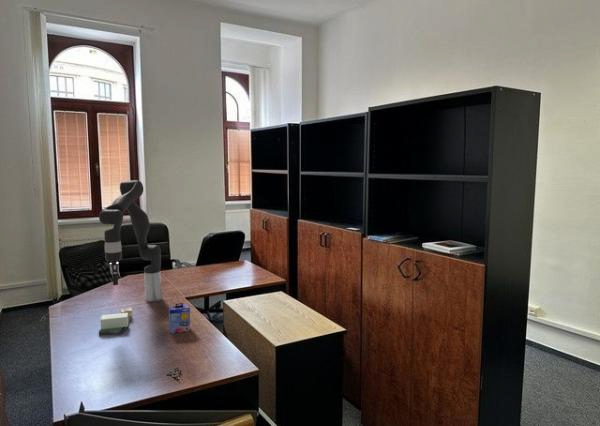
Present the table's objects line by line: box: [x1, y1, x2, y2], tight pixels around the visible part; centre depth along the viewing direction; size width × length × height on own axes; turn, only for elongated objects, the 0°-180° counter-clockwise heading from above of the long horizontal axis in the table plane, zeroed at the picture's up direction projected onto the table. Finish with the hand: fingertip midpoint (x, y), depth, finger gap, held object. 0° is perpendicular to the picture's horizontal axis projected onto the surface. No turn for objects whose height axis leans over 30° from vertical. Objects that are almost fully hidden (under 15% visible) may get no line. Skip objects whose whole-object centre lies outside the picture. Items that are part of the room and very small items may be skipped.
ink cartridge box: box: [168, 302, 191, 334], centre depth 209 cm, size 10×6×14 cm, turn 113°
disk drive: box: [98, 322, 130, 337], centre depth 211 cm, size 10×3×15 cm
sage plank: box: [100, 312, 130, 330], centre depth 210 cm, size 12×6×5 cm, turn 107°
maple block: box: [120, 307, 133, 321], centre depth 225 cm, size 5×5×5 cm
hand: (115, 282), depth 209 cm, fingers open, 8 cm apart
